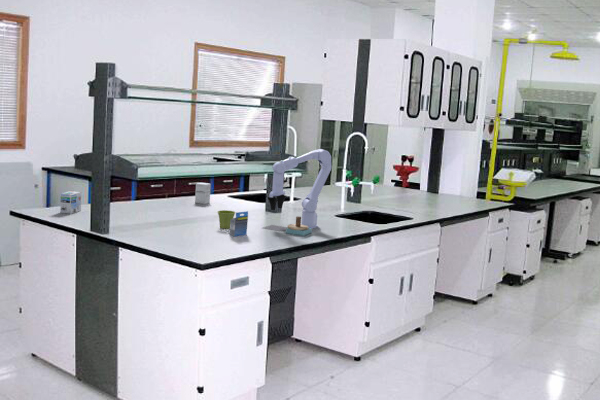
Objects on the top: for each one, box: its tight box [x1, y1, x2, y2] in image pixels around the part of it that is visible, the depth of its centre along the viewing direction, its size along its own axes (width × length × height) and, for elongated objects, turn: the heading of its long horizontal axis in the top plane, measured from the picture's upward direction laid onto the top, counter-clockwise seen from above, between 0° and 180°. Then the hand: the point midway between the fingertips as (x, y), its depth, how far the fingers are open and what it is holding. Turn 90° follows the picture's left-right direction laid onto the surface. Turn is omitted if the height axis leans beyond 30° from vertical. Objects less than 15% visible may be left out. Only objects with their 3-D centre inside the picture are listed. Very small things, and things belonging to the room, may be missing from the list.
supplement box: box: [194, 182, 212, 205], centre depth 415 cm, size 7×7×13 cm
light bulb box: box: [59, 190, 82, 215], centre depth 358 cm, size 11×7×11 cm, turn 168°
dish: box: [285, 228, 313, 237], centre depth 343 cm, size 10×10×3 cm
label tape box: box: [229, 210, 249, 237], centre depth 329 cm, size 9×4×12 cm, turn 141°
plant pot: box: [217, 209, 236, 230], centre depth 344 cm, size 9×9×9 cm
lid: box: [286, 216, 308, 230], centre depth 342 cm, size 11×11×6 cm
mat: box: [262, 224, 288, 232], centre depth 352 cm, size 12×12×1 cm
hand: (276, 209), depth 355 cm, fingers open, 7 cm apart
